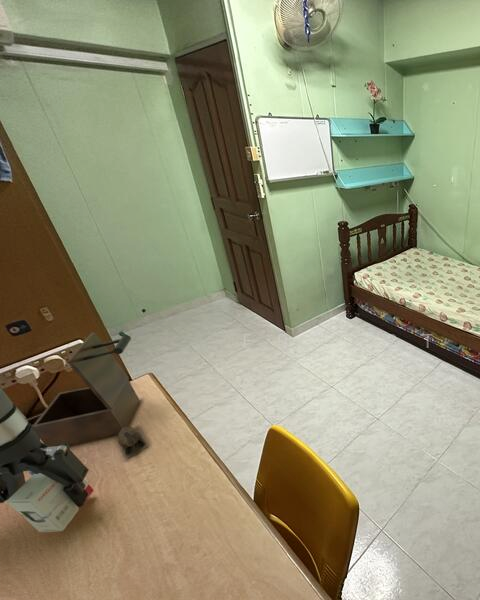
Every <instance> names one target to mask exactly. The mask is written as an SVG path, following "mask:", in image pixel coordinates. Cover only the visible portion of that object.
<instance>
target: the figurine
mask: <svg viewBox="0 0 480 600" xmlns="http://www.w3.org/2000/svg"><path fill="white" fill-rule="evenodd" d="M117 442H118V443H119V445H120V447H121V448H122V449H123V452H124V453H125V456H126V457H127V460H129V459H130V458H132V457H134V456H135V455H138V454H139V453H141V452H142V451H144V450H146V449H147V448H149V446H148V444H147V443H146V441H145V439H144V438H143V435H142V433H141V431H140V430H139V428H138V427H135V428H133V427H132V426H128V427H125V428H122V429H121V431H120V432H119V435H117Z"/></svg>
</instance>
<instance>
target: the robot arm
mask: <svg viewBox="0 0 480 600" xmlns="http://www.w3.org/2000/svg"><path fill="white" fill-rule="evenodd" d="M54 459H55V460H54ZM28 471H31V472H33V473H35V474H38V473H41V474H43V475H45V476H47V477H49V478H51V479H52V480H54V481H56V482H58V483H60V484H62V485H64V486H65V488H64V489H63V491H64V492H65V493H66V494H67V495H68V496H69V497H70V499H71V500H72V501H73V502H74V503H75V504H76V505H77V507H81V506H82V507H83V506H84V504H85V503H86V501H87V500H86V498H87V496H88V493H87V492H86V490H85V489H84V488H85V484H84V483H83V480H84V479H86V476H87V474H88V472H89V468H88V467H87V466H86V465H85V464H84V463H83V462H82V461H81V459H79V457H77V456H76V455H75V454H74V452H73V451H72V450H71V449H70V446H69V444H68V443H67V442H62V443H61V444H60V445H59V446H54V447H49V446H48V445H46V444H44V443H43V441H42V440H41V439H40V436H39V433H38V432H37V431H36V430H35V428H34V427H33V424H32V423H30V422H29V419H28V418H27V417H26V416H25V415H24V414H23V413H22V411H21V410H20V409H19V408H18V406H16V405H15V403H14V402H13V401H12V400H11V399H10V397H9V396H8V395H7V394H6V392H5V391H4V390H3V389H2V388H1V387H0V504H2V503H6V501H7V500H8V499H9V498H10V497H11V496H12V495H13V494H14V493H15V492H16V491H17V490H18V489H19V488H20V487H21V486H22V485H23V484H24V483H25V482H26V478H25V473H24V472H28ZM85 500H86V501H85ZM84 502H85V503H84ZM82 507H81V508H82Z"/></svg>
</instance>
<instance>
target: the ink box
mask: <svg viewBox="0 0 480 600" xmlns="http://www.w3.org/2000/svg"><path fill="white" fill-rule="evenodd" d="M83 483H84V484H85V488H84V489H85V490H86V492H87V493H88V496H87V498H86V500H85V502H84V504H85V503H86V501H87V500H88V499H89V497H90V496H91V495H92V493H93V492H94V488H93V487H92V486H91V485H90V484H89V482H88V481H87V480H86V478H84V480H83ZM64 488H65V486H64V485H62V484H60V483H58V482H56V481H54V480H52V479H51V478H49V477H47V476H45V475H43V474H41V473H38V474H34V475H33V476H32V475H31V476H30V477H29V478H28V479H27V480H25V483H24V484H23V485H22V486H21V487H20V488H19V489H18V490H17V491H16V492H15V493H14V494H13V495H12V496H11V497H10V498H9V499H8V500H6V501H5V503H7V504H8V505H9V506H10V507H11V508H13V509H14V510H15V511H16V512H17V513H18V514H19V515H20V516H21V517H22V518H23V519H25V520H26V521H27V522H28V523H29V524H30V525H31V526H32V527H34V529H36V531H38V532H39V533H54V532H63V531H64V530H65V529H66V527H67V526H68V525H69V524H70V523H71V521H72V520H73V518H74V517H75V516H76V515H77V513H78V512H79V510H80V509H82V507H83V506H81V507H77V505H76V504H75V503H74V502H73V501H72V500H71V499H70V497H69V496H68V495H67V494H66V493H65V492H64V491H63V489H64Z"/></svg>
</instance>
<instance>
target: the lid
mask: <svg viewBox="0 0 480 600" xmlns="http://www.w3.org/2000/svg"><path fill="white" fill-rule="evenodd" d="M131 340H132V337H131V335H128V334H126V335H122V336H121V338H119V339H115V340H111V341H106V342H103V341H102V340H101V338H100V337H99V336H98V334H97V333H96V332H95V331H93V332H91V333H90V334H89V335H88V336H87V338H85V340H84V341H83V342H82V343H81V344H80V346H79V347H78V348H77V349H76V350H75V351H74V352H73V354H72V355H71V356H70V357H69V358H68V359H67V360H66V362H67V364H68V365H69V366H70V367H71V368H72V370H73V371H74V372H75V373H76V374H77V375H78V377H79V378H80V379H81V380H82V381H83V382H84V384H86V386H87V387H89V388H90V389H91V390H92V391H93V392H94V394H95V395H96V396H97V397H98V398H99V399H100V401H101V402H102V403H103V404H104V405H105V406H106V407H107V409H108V410H109V409H112V407H113V405H114V404H115V402H116V400H117V398H118V397H119V395H120V393H121V391H122V389H123V388H124V386H125V384H126V382H127V381H128V380H129V379H130V377H129V376H128V374H127V373H126V372H125V370H124V369H123V368H122V366H121V365H120V363H119V362H118V361H117V360H116V358H115V357H114V356H113V355H112V354H115V355H121V354H123V352H124V351H125V350H126V348H127V347H128V345H129V343H130V342H131ZM115 344H116V345H115ZM111 345H115V346H114V348H113V349H110V350H109V349H108V348H107V346H111Z"/></svg>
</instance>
